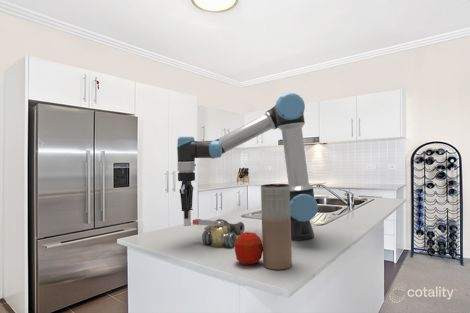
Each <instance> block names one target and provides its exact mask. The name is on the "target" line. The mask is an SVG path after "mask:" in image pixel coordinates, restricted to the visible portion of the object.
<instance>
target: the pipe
mask: <svg viewBox="0 0 470 313" xmlns="http://www.w3.org/2000/svg"><path fill="white" fill-rule="evenodd" d="M215 221H223V222H224V226H227V232H231V233H235V234H236V235H237V234H238V235H240V234H242V233H244V232H245V224H244V222H243V221H239V222H237V223H229V222H228V221H227V220H225V219H222V218H218V219H216V220H215ZM211 227H212V226H207V225H205V226H204V231H205V230H211Z"/></svg>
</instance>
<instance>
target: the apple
mask: <svg viewBox="0 0 470 313" xmlns="http://www.w3.org/2000/svg"><path fill="white" fill-rule="evenodd" d="M234 254H235V258H236V260H237V261H238V262H239V263H241V264H243V265H245V266H247V265H248V266H249V265H254V264H256V263H257V262H259V261H260V260H261V259H262V258H263V242H262V239H261V238H260V236H259V235H258V234H256V233H255V232H252V231H251V232H250V231H247V232H246V231H244V232H243V233H242V234H238V236H237V239H236V241H235V247H234Z"/></svg>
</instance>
